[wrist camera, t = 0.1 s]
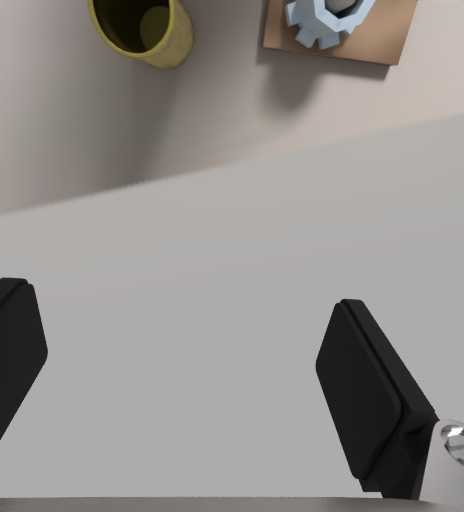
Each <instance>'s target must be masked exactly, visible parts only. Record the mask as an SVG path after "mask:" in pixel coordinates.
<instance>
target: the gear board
mask: <svg viewBox="0 0 464 512" xmlns="http://www.w3.org/2000/svg"><path fill="white" fill-rule="evenodd" d="M293 2H295V0H268V3H267V11H266V18H265V26H264V33H263V41H262V47H263V48H270V49H277V50H284V51H291V52H298V53H305V54H312V55H320V56H327V57H334V58H341V59H348V60H355V61H362V62H369V63H376V64H383V65H390V66H391V65H398V62H399V59H400V56H401V53H402V50H403V46H404V43H405V40H406V37H407V34H408V30H409V27H410V24H411V21H412V18H413V14H414V11H415V8H416V5H417V2H418V0H375V2H374V4H373V5H372V7H371V9H370V10H369V12H368V14H367V15H366V17H365V19H364V20H363V22H362V23H361V24H360V25H357V26H355V28H354V29H353V31H352V33H351V34H350V35H345V34H343V33H342V32H341V31H338V33H339V43H340V44H337V45H334V46H331V47H328V48H325V49H321V50H319V42H318V38H317V39H315V41H314V43H313V45H312V47H310V48H307V47H306V46H304V45H303V44H301V43H300V42H299V41H297V40H296V39H295V37H296V35H297V33H298V31H299V30H300V27H299V26H298V24H295V25H292V26H289V27H288V25H287V19H286V12H285V6H286V5H287V4H290V3H293ZM354 2H355V0H324V4H325V9H326V10H327V11H329V12H330V13H331V14H333V15H334V16H335V17H336V16H337V14H338V13H339V11H341V10H343V9H345V8H347V7H349V6H351V5H352V4H353V3H354Z"/></svg>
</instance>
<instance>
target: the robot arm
mask: <svg viewBox="0 0 464 512" xmlns="http://www.w3.org/2000/svg"><path fill="white" fill-rule="evenodd" d="M47 354H48V349H47V345H46V340H45V335H44V331H43V327H42V322H41V317H40V313H39V309H38V303H37V299H36V294H35V290H34V287H33V285H32V284H28V282H27V280H26V279H21V278H1V279H0V440H1V438H2V436H3V434H4V433H5V431H6V429H7V427H8V426H9V424H10V422H11V421H12V419H13V417H14V415H15V413H16V412H17V410H18V408H19V407H20V405H21V403H22V401H23V400H24V398H25V396H26V395H27V393H28V391H29V389H30V388H31V386H32V384H33V383H34V381H35V379H36V377H37V376H38V374H39V372H40V370H41V369H42V366H43V365H44V363H45V361H46V359H47ZM316 373H317V376H318V378H319V381H320V384H321V387H322V390H323V393H324V396H325V399H326V401H327V404H328V407H329V410H330V413H331V416H332V419H333V421H334V424H335V427H336V430H337V433H338V436H339V439H340V442H341V444H342V447H343V450H344V453H345V456H346V458H347V462H348V465H349V467H350V470H351V473H352V475H353V476H354V477H355V478H356V479H359V482H360V484H361V487H362V490H363V492H381V494H382V497H383V498H346V497H69V498H68V497H66V498H0V512H464V423H462V422H460V421H456V420H451V419H445V420H441V421H440V420H439V418H438V417H437V415H436V414H435V410H434V409H433V407H432V406H431V404H430V403H429V401H428V400H427V398H426V396H425V395H424V394H423V392H422V390H421V389H420V388H419V386H418V384H417V383H416V381H415V380H414V378H413V377H412V375H411V374H410V372H409V371H408V369H407V368H406V366H405V365H404V363H403V362H402V360H401V359H400V357H399V356H398V354H397V353H396V351H395V350H394V348H393V347H392V345H391V344H390V342H389V340H388V339H387V337H386V336H385V334H384V333H383V332H382V330H381V328H380V327H379V325H378V324H377V322H376V321H375V319H374V318H373V316H372V315H371V313H370V312H369V310H368V309H367V307H366V306H365V304H364V303H363V302H362V301H361V300H355V299H343V300H341V301H340V303H336V304H335V306H334V309H333V312H332V315H331V318H330V321H329V324H328V327H327V330H326V333H325V336H324V339H323V342H322V345H321V348H320V351H319V354H318V357H317V360H316Z"/></svg>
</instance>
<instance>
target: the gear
mask: <svg viewBox="0 0 464 512" xmlns="http://www.w3.org/2000/svg"><path fill="white" fill-rule="evenodd" d="M374 2H375V0H355V2H354V3H353V4H352V5H351V6H349V7H347V8H345V9H343V10H341V11H339V13H338V14H337V16H336V17H335V16H334V15H333V14H331V13H330V12H329V11H327V10H326V9H325V4H324V0H295V2H293V3H290V4H287V5H286V6H285V12H286V19H287V25H288V27H289V26H292V25H295V24H298V26H299V27H300V30H299V31H298V33H297V35H296V37H295V39H296V40H297V41H299V42H300V43H301V44H303V45H304V46H306V47H307V48H310V47H312V45H313V43H314V41H315V39H317V38H318V42H319V50H321V49H325V48H328V47H331V46H334V45H337V44H340V43H339V33H338V31H341V32H342V33H343V34H345V35H350V34H351V33H352V31H353V29H354V28H355V26H357V25H360V24H361V23H362V22H363V20H364V19H365V17H366V15H367V14H368V12H369V10H370V9H371V7H372V5H373V4H374Z"/></svg>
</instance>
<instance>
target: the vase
mask: <svg viewBox="0 0 464 512" xmlns="http://www.w3.org/2000/svg"><path fill="white" fill-rule="evenodd" d="M87 1H88V7H89V12H90V16H91V19H92V22H93V24H94V26H95V28H96V30H97V31H98V33H99V35H100V36H101V38H102V39H103V40H104V42H105V43H106V44H107V45H108V46H109V47H111V48H112V49H113V50H115V51H116V52H118V53H119V54H121V55H123V56H127V57H133V58H136V59H139V60H142V61H144V62H147V63H149V64H150V65H152V66H155V67H157V68H162V69H169V68H173V67H176V66H178V65H179V64H181V63H182V62H183V61H184V60H185V59H186V57H187V56H188V54H189V53H190V50H191V48H192V44H193V27H192V23H191V20H190V17H189V15H188V14H187V12H186V10H185V8H184V7H183V5H182V4H181V3H180V2H179V1H178V0H87Z"/></svg>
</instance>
